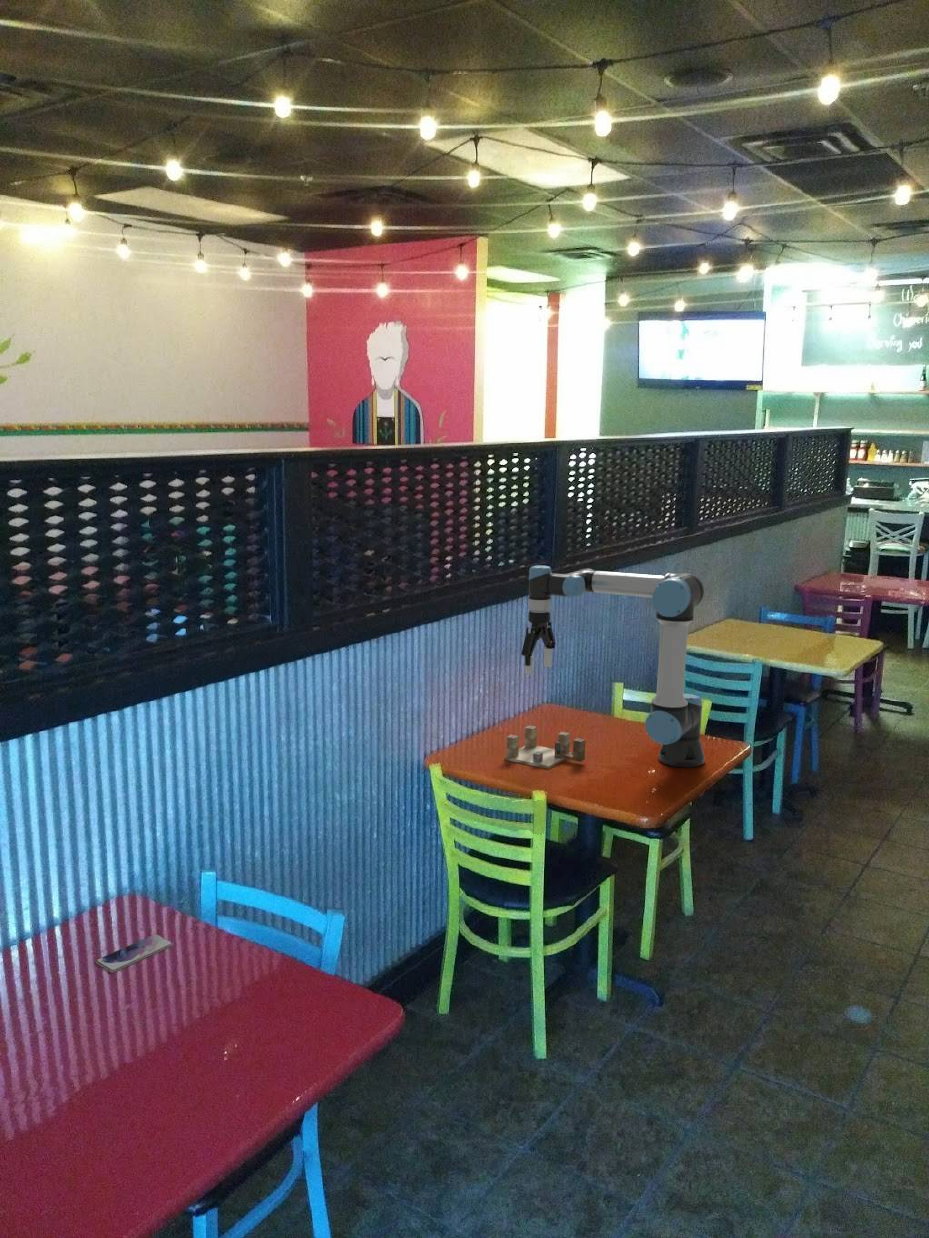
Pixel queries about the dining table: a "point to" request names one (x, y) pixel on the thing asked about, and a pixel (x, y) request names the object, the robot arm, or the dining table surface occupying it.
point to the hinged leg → (577, 750)
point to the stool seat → (535, 749)
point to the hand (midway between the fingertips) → (538, 670)
